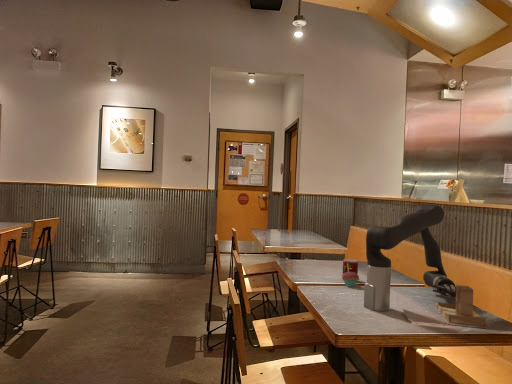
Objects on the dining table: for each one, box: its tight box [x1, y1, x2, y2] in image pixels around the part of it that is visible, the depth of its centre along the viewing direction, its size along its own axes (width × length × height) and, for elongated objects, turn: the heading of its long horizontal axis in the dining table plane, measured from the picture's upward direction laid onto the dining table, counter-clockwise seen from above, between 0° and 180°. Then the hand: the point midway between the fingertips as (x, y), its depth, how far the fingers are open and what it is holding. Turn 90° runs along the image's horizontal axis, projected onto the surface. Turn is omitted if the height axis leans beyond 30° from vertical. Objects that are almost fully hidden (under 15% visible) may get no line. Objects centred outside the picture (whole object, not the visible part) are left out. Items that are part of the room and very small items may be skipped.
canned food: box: [342, 258, 359, 281], centre depth 210 cm, size 8×8×11 cm
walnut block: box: [455, 284, 474, 316], centre depth 141 cm, size 6×4×12 cm, turn 167°
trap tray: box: [434, 301, 487, 330], centre depth 148 cm, size 22×12×4 cm, turn 167°
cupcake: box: [341, 263, 360, 288], centre depth 196 cm, size 9×8×12 cm
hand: (454, 294), depth 153 cm, fingers closed
